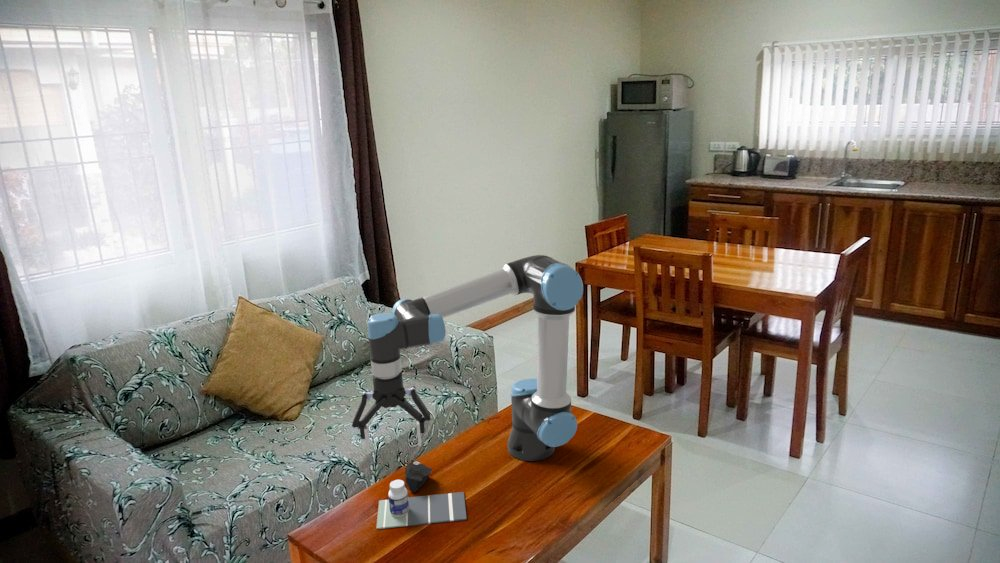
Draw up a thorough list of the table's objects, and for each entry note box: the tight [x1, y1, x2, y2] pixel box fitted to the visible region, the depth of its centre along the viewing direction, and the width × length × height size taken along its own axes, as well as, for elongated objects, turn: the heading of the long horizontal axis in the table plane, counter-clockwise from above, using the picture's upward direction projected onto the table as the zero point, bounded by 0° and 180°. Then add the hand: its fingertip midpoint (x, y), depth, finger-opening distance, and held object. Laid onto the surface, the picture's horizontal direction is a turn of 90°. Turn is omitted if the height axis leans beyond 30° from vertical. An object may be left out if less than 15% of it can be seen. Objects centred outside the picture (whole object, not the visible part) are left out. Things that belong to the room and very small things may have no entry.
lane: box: [375, 491, 467, 530], centre depth 177 cm, size 24×12×1 cm, turn 97°
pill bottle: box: [388, 479, 409, 517], centre depth 175 cm, size 5×5×9 cm
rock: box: [404, 460, 433, 493], centre depth 189 cm, size 10×9×6 cm
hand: (394, 446), depth 170 cm, fingers open, 13 cm apart
